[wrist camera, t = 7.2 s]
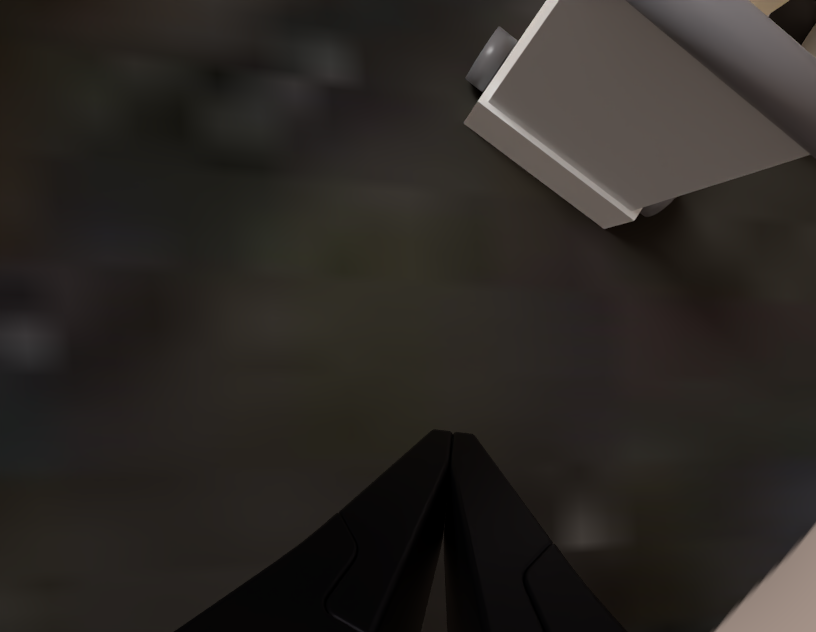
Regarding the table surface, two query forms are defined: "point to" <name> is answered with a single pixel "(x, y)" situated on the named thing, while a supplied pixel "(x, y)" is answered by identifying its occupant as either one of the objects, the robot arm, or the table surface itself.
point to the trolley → (645, 99)
